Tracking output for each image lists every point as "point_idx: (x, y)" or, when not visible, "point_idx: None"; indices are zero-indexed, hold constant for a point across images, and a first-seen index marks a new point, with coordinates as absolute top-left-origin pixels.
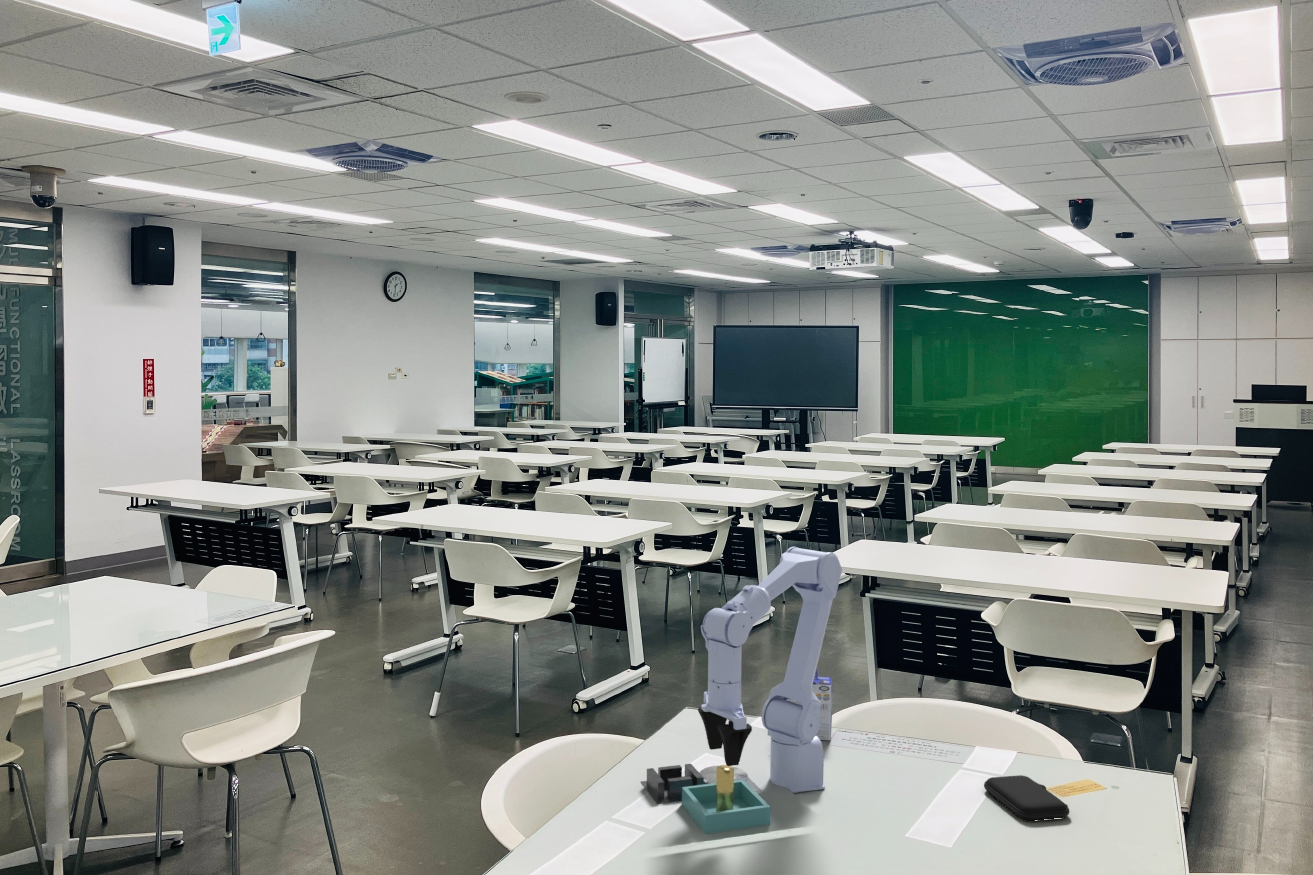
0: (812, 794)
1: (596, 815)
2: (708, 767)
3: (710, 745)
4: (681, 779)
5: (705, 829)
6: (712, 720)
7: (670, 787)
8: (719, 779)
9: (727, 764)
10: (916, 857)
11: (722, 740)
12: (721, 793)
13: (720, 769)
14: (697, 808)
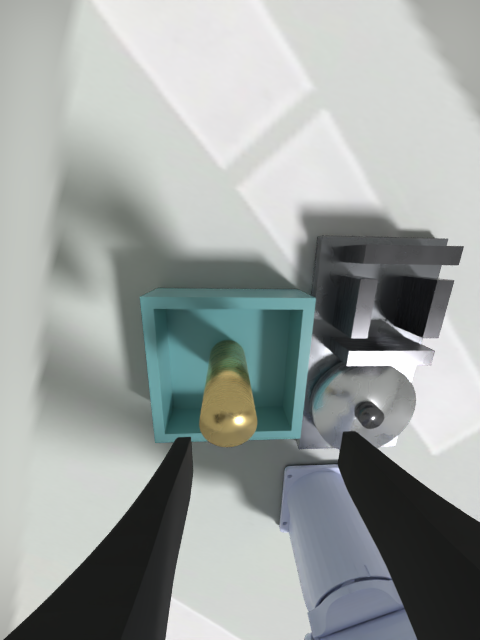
0: (270, 506)
1: (347, 67)
2: (413, 396)
3: (351, 442)
4: (358, 312)
5: (151, 291)
6: (447, 591)
7: (351, 279)
8: (216, 385)
9: (174, 441)
10: (42, 548)
11: (149, 541)
12: (211, 369)
13: (224, 407)
14: (199, 295)
